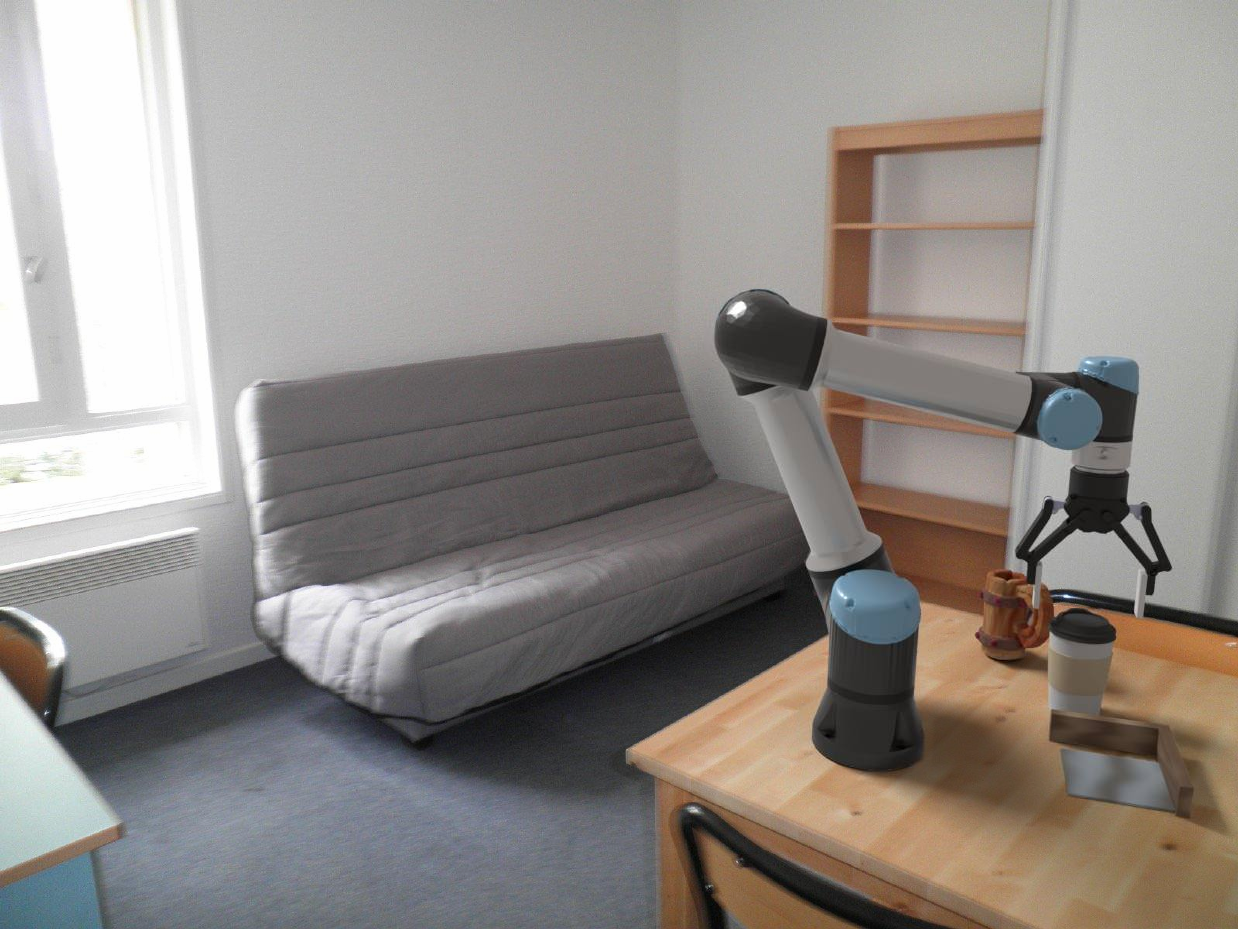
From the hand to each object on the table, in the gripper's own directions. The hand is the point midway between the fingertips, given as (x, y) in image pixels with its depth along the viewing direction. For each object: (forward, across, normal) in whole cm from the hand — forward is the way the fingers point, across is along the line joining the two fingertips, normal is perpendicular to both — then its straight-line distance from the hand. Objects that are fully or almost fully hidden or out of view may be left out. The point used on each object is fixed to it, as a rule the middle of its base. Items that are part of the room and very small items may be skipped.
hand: (1086, 610), depth 144 cm
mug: (+16, -8, +16) cm, 24 cm away
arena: (+16, +3, -18) cm, 24 cm away
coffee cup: (+16, 0, 0) cm, 16 cm away
